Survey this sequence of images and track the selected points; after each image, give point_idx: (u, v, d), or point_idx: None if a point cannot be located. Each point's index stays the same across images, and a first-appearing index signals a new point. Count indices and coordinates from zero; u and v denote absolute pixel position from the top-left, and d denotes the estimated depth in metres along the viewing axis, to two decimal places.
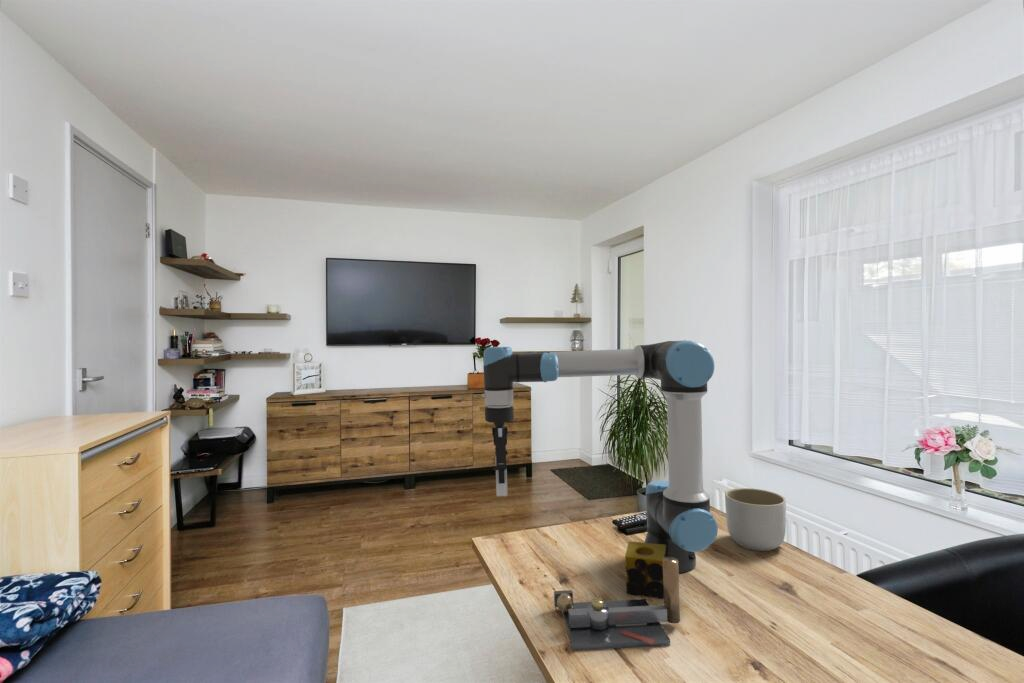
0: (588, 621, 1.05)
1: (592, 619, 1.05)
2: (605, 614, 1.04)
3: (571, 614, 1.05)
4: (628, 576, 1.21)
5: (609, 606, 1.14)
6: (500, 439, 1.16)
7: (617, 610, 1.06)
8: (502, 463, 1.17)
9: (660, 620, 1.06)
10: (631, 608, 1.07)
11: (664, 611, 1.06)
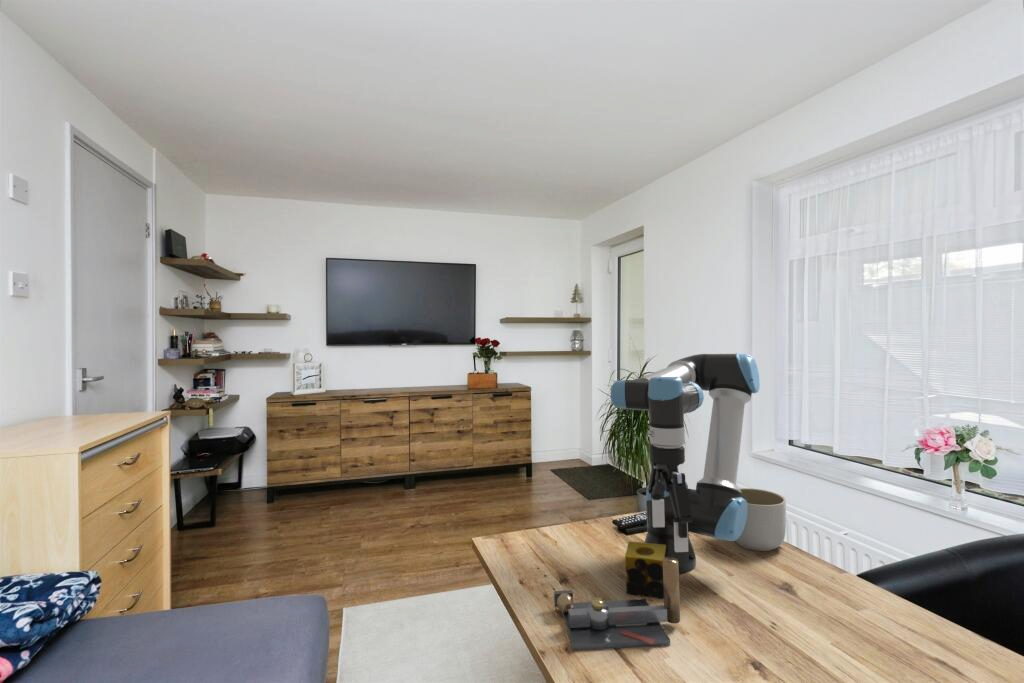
0: (588, 621, 1.05)
1: (592, 619, 1.05)
2: (605, 614, 1.04)
3: (571, 614, 1.05)
4: (628, 576, 1.21)
5: (609, 606, 1.14)
6: (680, 486, 1.00)
7: (617, 610, 1.06)
8: None
9: (660, 620, 1.06)
10: (631, 608, 1.07)
11: (664, 611, 1.06)
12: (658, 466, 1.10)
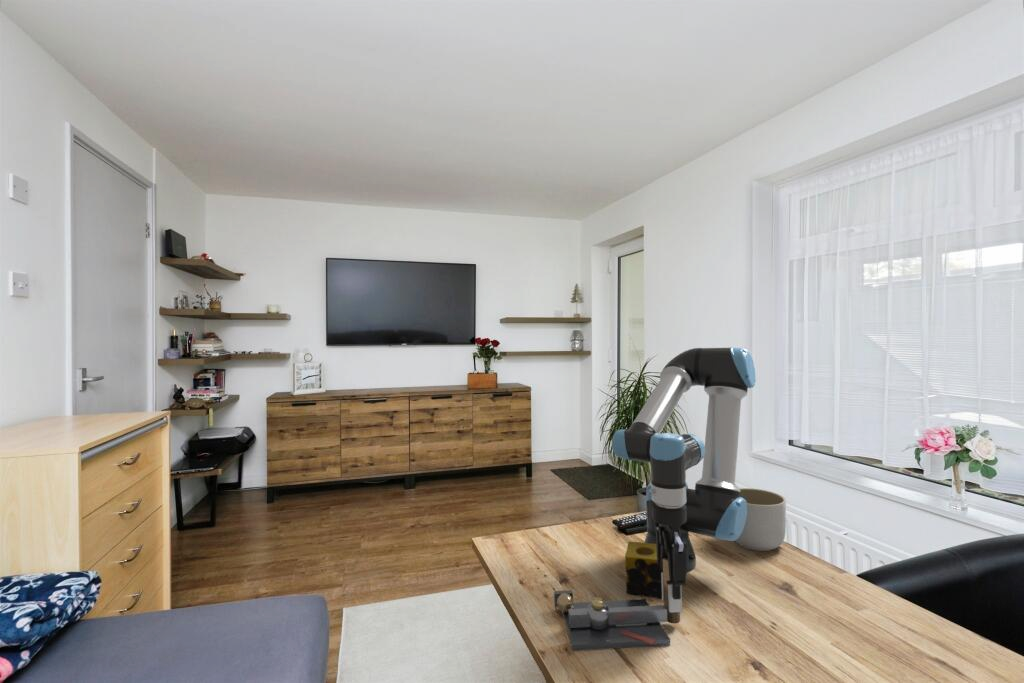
0: (588, 621, 1.05)
1: (592, 619, 1.05)
2: (605, 614, 1.04)
3: (571, 614, 1.05)
4: (628, 576, 1.21)
5: (609, 606, 1.14)
6: (680, 554, 1.01)
7: (617, 610, 1.06)
8: None
9: (660, 620, 1.06)
10: (631, 608, 1.07)
11: (664, 611, 1.06)
12: (660, 522, 1.10)
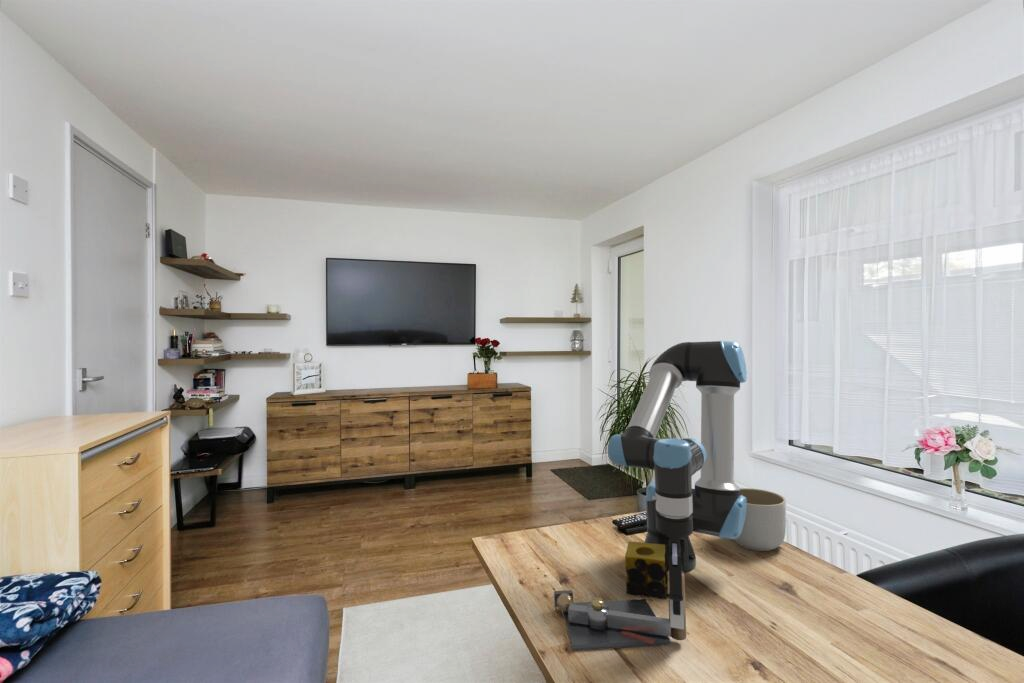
0: (586, 619, 1.06)
1: (589, 617, 1.05)
2: (602, 615, 1.04)
3: (570, 608, 1.07)
4: (628, 576, 1.21)
5: (609, 606, 1.14)
6: (675, 567, 0.96)
7: (617, 614, 1.05)
8: None
9: (663, 633, 1.01)
10: (633, 615, 1.04)
11: (667, 625, 1.01)
12: None
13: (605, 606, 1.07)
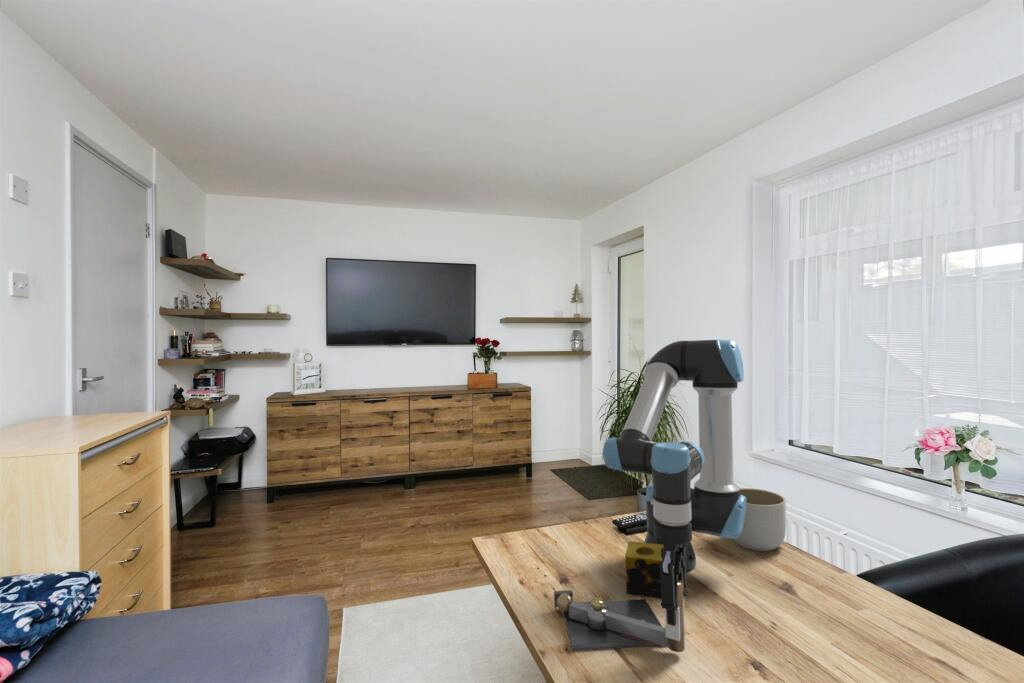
0: (585, 617, 1.07)
1: (588, 616, 1.06)
2: (599, 615, 1.04)
3: (571, 605, 1.09)
4: (628, 576, 1.21)
5: (609, 606, 1.14)
6: (666, 576, 0.93)
7: (616, 616, 1.04)
8: None
9: (660, 642, 0.98)
10: (631, 620, 1.02)
11: (664, 634, 0.98)
12: None
13: (606, 607, 1.06)
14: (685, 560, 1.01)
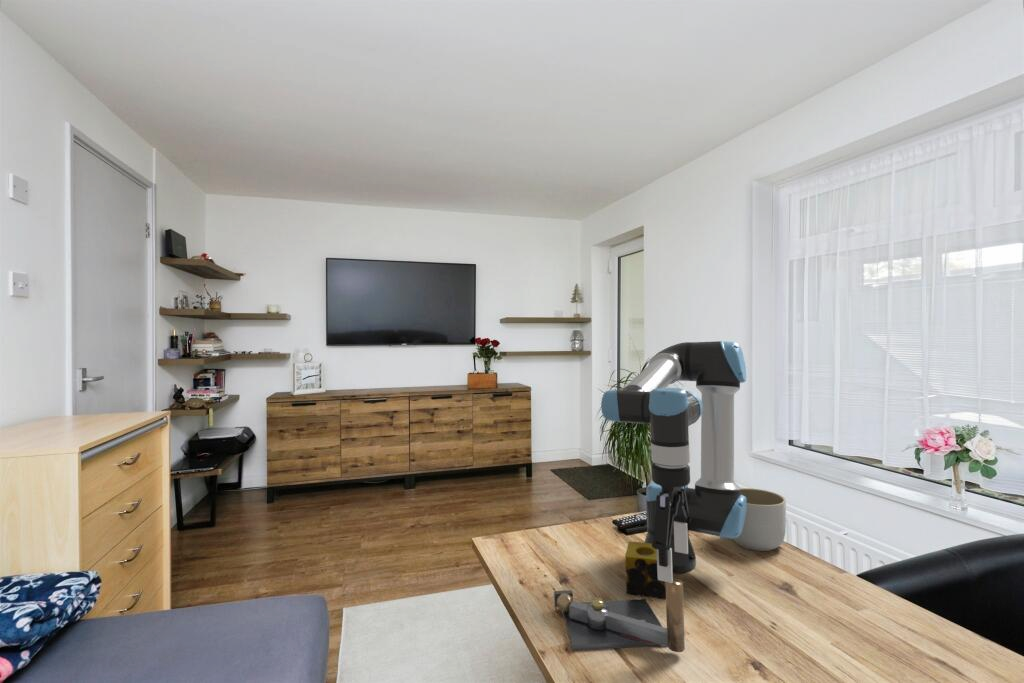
0: (585, 617, 1.07)
1: (588, 616, 1.06)
2: (599, 615, 1.04)
3: (571, 605, 1.09)
4: (628, 576, 1.21)
5: (609, 606, 1.14)
6: (662, 510, 0.91)
7: (616, 616, 1.04)
8: None
9: (660, 642, 0.98)
10: (631, 620, 1.02)
11: (664, 634, 0.98)
12: None
13: (606, 607, 1.06)
14: (685, 494, 1.03)
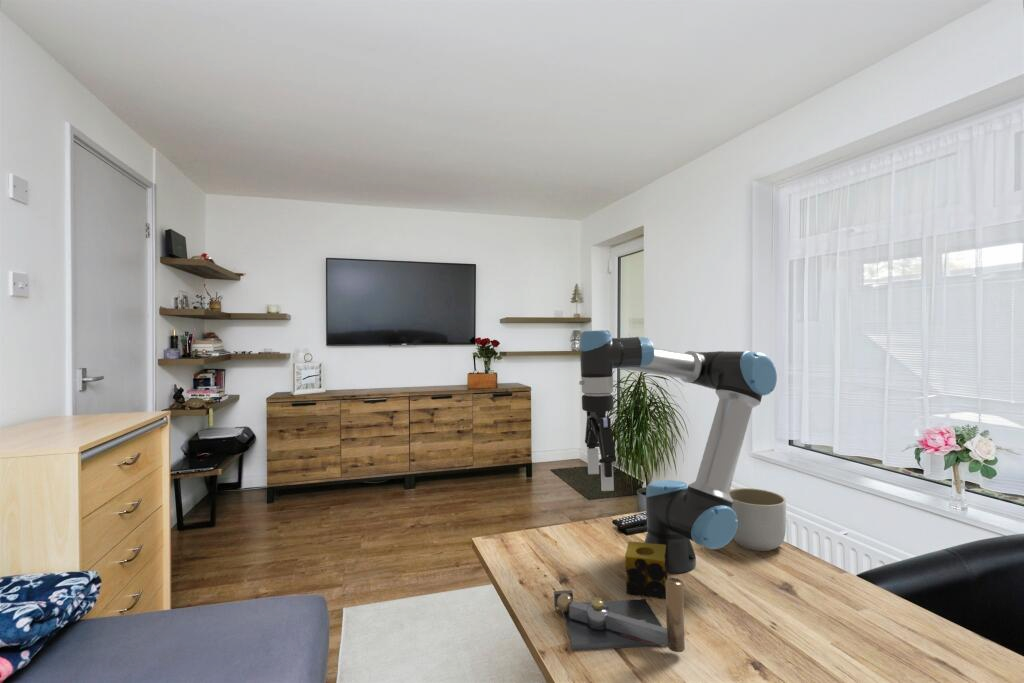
0: (585, 617, 1.07)
1: (588, 616, 1.06)
2: (599, 615, 1.04)
3: (571, 605, 1.09)
4: (628, 576, 1.21)
5: (609, 606, 1.14)
6: (606, 429, 1.07)
7: (616, 616, 1.04)
8: (607, 455, 1.08)
9: (660, 642, 0.98)
10: (631, 620, 1.02)
11: (664, 634, 0.98)
12: (590, 415, 1.17)
13: (606, 607, 1.06)
14: None
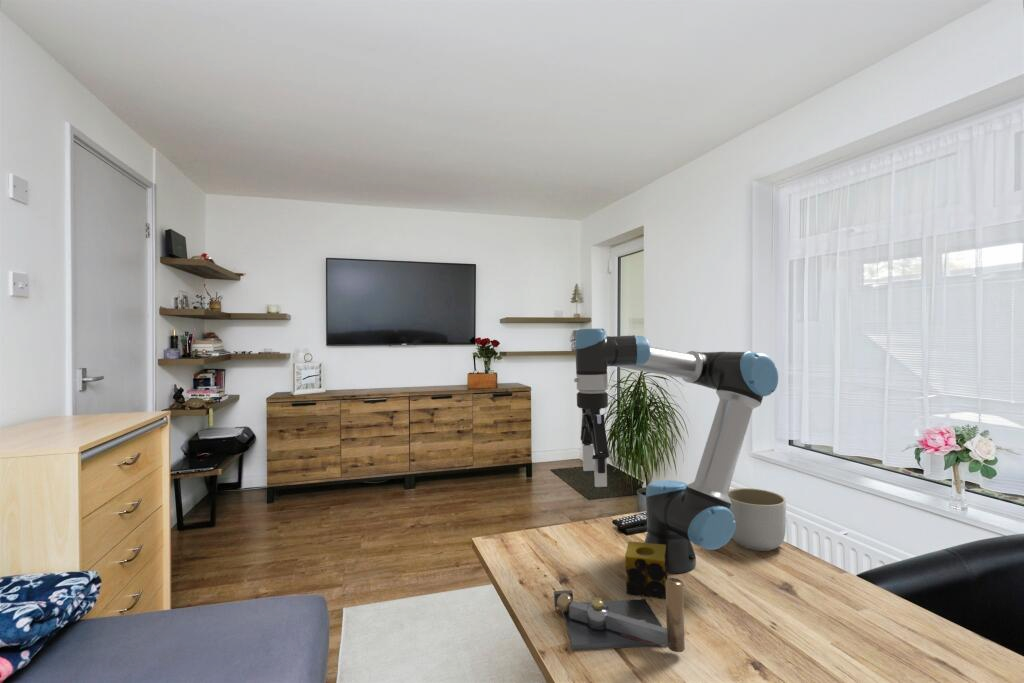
0: (585, 617, 1.07)
1: (588, 616, 1.06)
2: (599, 615, 1.04)
3: (571, 605, 1.09)
4: (628, 576, 1.21)
5: (609, 606, 1.14)
6: (599, 426, 1.08)
7: (616, 616, 1.04)
8: (601, 452, 1.09)
9: (660, 642, 0.98)
10: (631, 620, 1.02)
11: (664, 634, 0.98)
12: (585, 412, 1.18)
13: (606, 607, 1.06)
14: None
